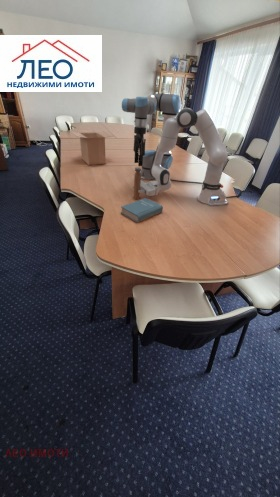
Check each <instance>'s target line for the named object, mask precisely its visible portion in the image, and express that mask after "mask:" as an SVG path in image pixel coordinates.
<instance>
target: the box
mask: <svg viewBox="0 0 280 497" xmlns="http://www.w3.org/2000/svg"><path fill="white" fill-rule="evenodd" d="M70 133H71V134H72V135H74V136H75V137H77V138H79V144H80V153H81V160H83V162H85V163H86V165H87V166H95V165H97V166H98V165H106V163H107V162H106V158H107V157H106V138H113V137H114V136H113V135H111V134H109V133H108V132H105V131H98V132H96V131H95V130H92V129H91V130H77V132H76V131H70Z"/></svg>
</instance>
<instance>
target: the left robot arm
mask: <svg viewBox="0 0 280 497" xmlns="http://www.w3.org/2000/svg"><path fill="white" fill-rule="evenodd" d="M181 108H182V100H181V96H180V95H179V94H175V93H162V92H160V93H159V92H158V93H153V94H149V95H147V96H136V97H135V98H126V97H125V98H123V99H122V100H121V110H122V111H123V112H124V113H130V114H134V120H133V123H134V127H133V128H134V129H133V133H134V134H133V149H132V151H133V152H134V162H133V163H134V164H137V165H138V167H141V171H140V173H141V180H146V181H154V180H156V178H154V177H152V176H151V175H150V168H151V166H152V164H153V160H154V157H155V153H156V149H154V150H153V149H151V150H150V149H149V150H146V141H147V139H146V138H144V135H146V134H147V125H148V124H147V123H148V115H153V114H155V113H156V112H161V116H162V117H163V118H162V119H163V120H162V128H161V132H162V131H163V127H164V124H165V122H166V120H167V119H169V118H176V117H177V116H178V113H179V112H180V111H181V110H182V109H181ZM173 161H174V156H173V155H172V152H171V150H170V151H166V152H165V153H164V155H163V158H162V161H161V167H163V168H165V169H167V170H169V169H170V168H171V166H172V164H173ZM170 181H171V182H177V183H179V182H180V183H189V184H201V185H202V184H203V182H199V181H188V180H187V181H186V180H178V179H171V178H170Z"/></svg>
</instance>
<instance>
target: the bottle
mask: <svg viewBox="0 0 280 497" xmlns="http://www.w3.org/2000/svg"><path fill="white" fill-rule="evenodd" d="M140 172H141V171H140ZM140 172H137V171H135V172H134V174H133V175H134V177H133V186H134V189H133V197H132V198H133V199H134V200H140V197H141V193H139V192H138V190H140V184H141V181H142V179H141V173H140Z"/></svg>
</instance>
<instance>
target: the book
mask: <svg viewBox="0 0 280 497" xmlns="http://www.w3.org/2000/svg"><path fill="white" fill-rule="evenodd" d="M163 209H164V206H163V204H160V203H158V202H157V201H154V200H152V199H149V198H147V197H144V198H141V199H138V200H136V201H133V202H130V203H127V204H124V205H122V206H121V212H120V214H121V215H122V216H125V217H127V218H128V219H130V220H131V221H133V222H135V223H140V222H142V221H144V220H147V219H149V218H151V217H153V216H156V215H159V214H161V213H163Z"/></svg>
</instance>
